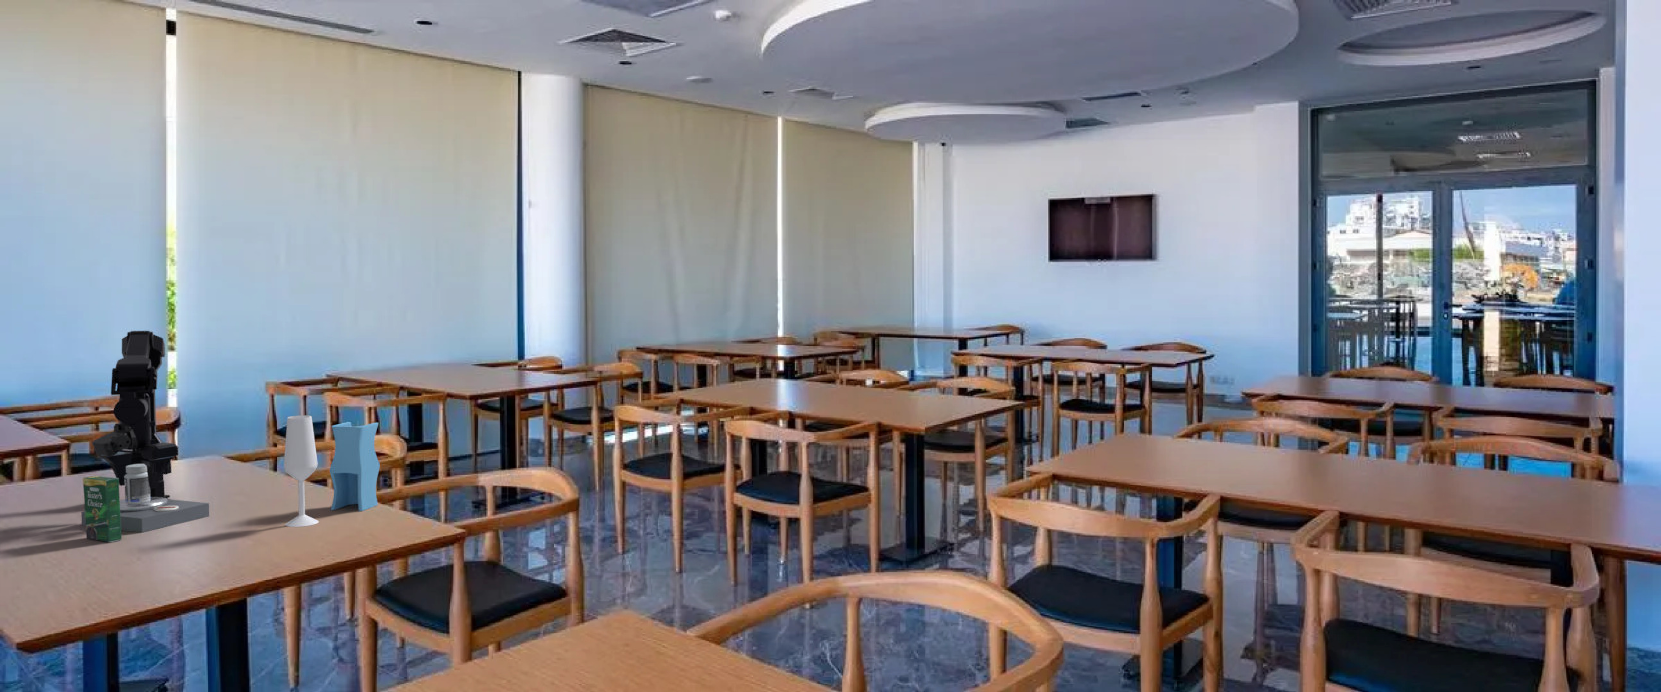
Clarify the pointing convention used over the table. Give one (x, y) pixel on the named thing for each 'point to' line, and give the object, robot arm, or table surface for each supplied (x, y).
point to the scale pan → (143, 505)
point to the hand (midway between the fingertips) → (137, 486)
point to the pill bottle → (136, 484)
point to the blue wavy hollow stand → (354, 466)
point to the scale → (161, 515)
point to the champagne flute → (300, 461)
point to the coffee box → (102, 508)
